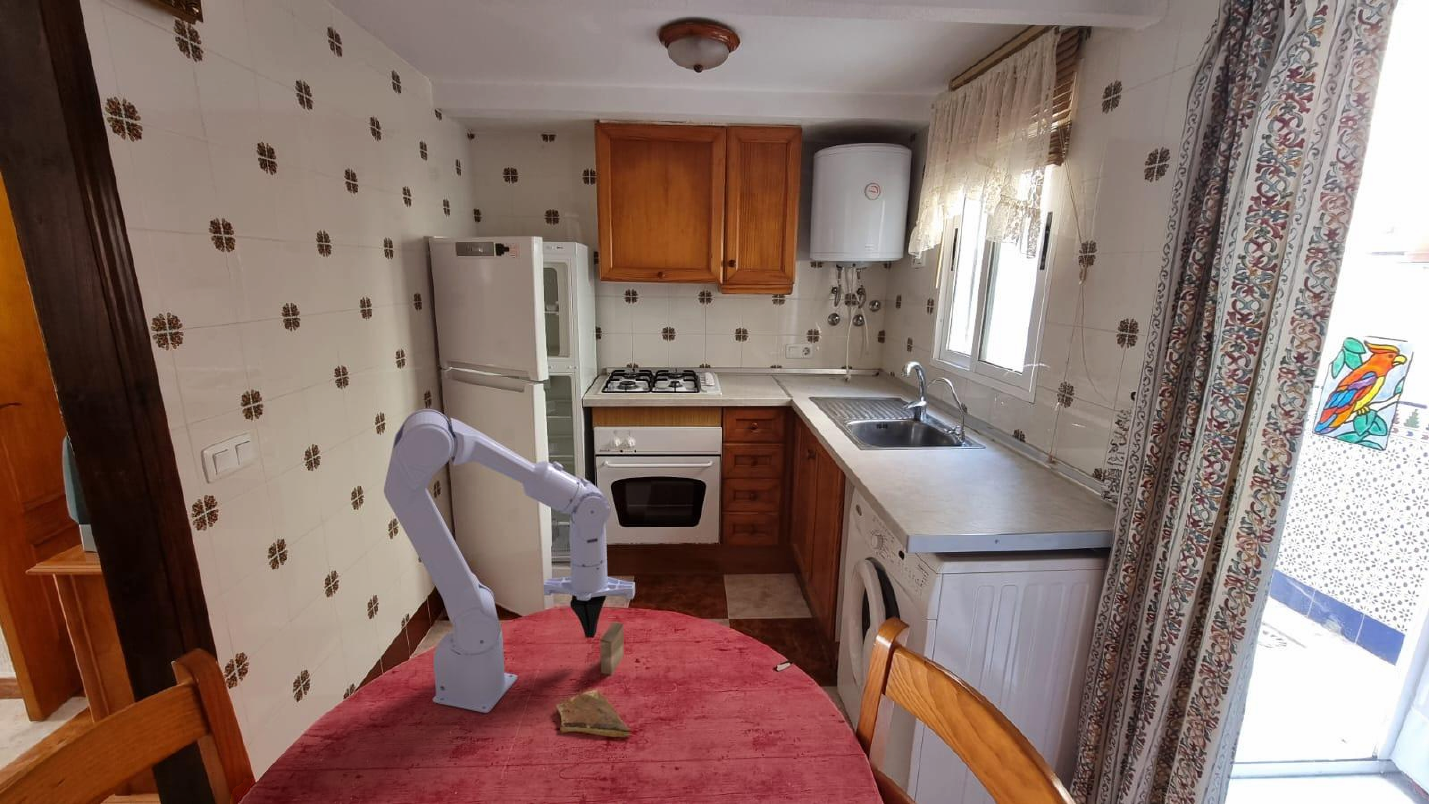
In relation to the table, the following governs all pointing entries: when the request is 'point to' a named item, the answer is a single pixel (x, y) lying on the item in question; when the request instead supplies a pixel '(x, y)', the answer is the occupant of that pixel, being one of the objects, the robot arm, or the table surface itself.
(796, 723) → the table surface
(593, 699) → the shard
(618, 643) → the oak slab
